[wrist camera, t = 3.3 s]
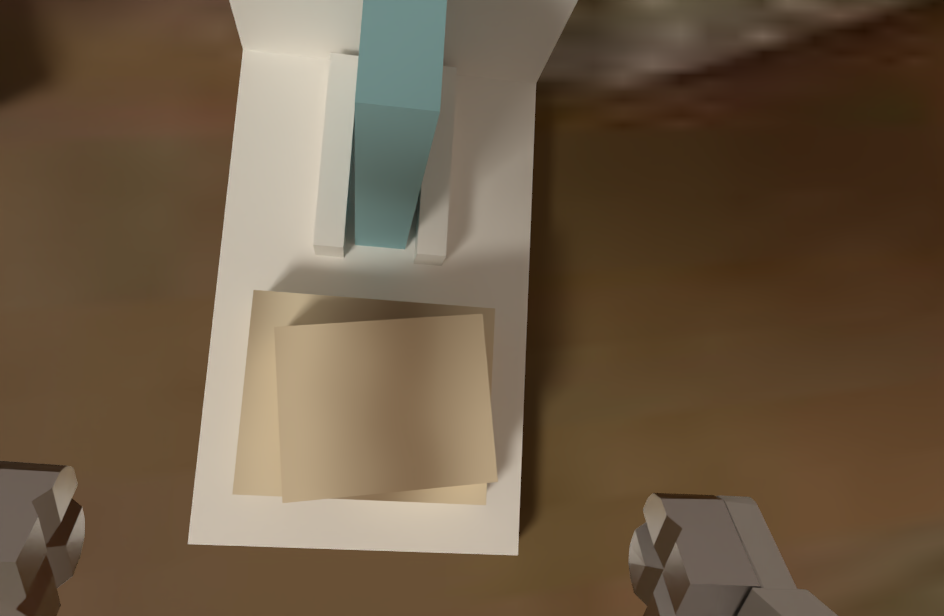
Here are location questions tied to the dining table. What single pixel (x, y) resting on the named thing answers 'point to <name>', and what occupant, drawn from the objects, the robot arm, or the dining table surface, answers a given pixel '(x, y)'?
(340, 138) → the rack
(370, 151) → the tall board
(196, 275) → the dining table surface
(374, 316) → the plate
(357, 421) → the offcut top
